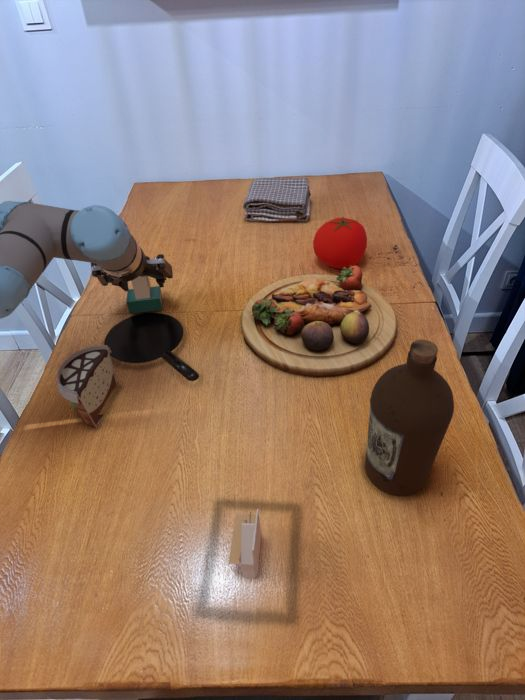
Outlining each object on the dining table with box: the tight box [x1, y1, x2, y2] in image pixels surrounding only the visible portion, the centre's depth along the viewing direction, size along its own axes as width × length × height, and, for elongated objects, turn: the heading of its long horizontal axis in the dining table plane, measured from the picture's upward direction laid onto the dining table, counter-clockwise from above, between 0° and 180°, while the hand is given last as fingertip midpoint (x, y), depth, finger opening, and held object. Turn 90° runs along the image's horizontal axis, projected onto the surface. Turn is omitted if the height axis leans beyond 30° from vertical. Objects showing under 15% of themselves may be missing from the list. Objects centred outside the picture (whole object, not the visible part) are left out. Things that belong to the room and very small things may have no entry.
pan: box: [103, 312, 200, 382], centre depth 97 cm, size 26×16×2 cm, turn 43°
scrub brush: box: [125, 276, 163, 314], centre depth 103 cm, size 5×7×11 cm
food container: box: [56, 344, 118, 429], centre depth 84 cm, size 12×6×10 cm, turn 168°
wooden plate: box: [240, 265, 398, 377], centre depth 100 cm, size 32×32×8 cm
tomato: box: [312, 216, 368, 270], centre depth 116 cm, size 12×13×11 cm
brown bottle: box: [364, 339, 455, 497], centre depth 67 cm, size 11×11×25 cm
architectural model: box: [228, 508, 262, 579], centre depth 64 cm, size 3×7×7 cm, turn 175°
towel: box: [242, 177, 311, 223], centre depth 139 cm, size 15×18×8 cm
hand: (143, 283), depth 107 cm, fingers closed on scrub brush, 7 cm apart
